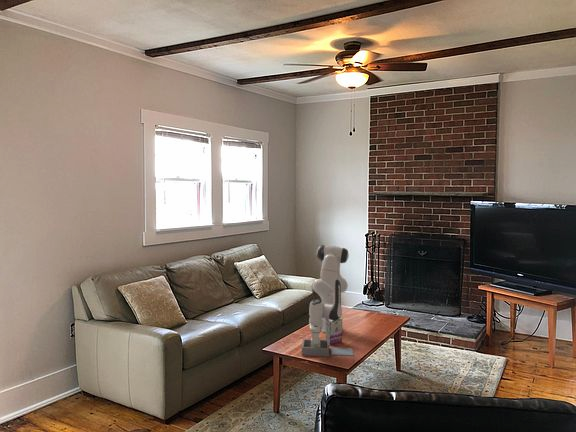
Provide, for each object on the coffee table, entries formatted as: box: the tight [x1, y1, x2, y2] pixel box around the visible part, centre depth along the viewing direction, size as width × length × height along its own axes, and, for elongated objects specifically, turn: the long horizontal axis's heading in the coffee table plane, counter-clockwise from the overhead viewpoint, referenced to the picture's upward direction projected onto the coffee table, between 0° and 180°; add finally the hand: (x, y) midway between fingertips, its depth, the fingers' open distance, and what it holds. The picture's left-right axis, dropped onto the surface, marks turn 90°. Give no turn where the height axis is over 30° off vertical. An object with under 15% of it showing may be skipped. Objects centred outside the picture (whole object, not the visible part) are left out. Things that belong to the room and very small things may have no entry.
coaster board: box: [330, 347, 354, 357], centre depth 291 cm, size 12×14×1 cm
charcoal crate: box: [301, 338, 330, 357], centre depth 292 cm, size 16×17×5 cm
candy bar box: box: [325, 317, 343, 346], centre depth 308 cm, size 11×5×16 cm, turn 126°
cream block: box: [310, 337, 321, 348], centre depth 291 cm, size 4×6×8 cm
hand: (315, 346), depth 291 cm, fingers closed on cream block, 4 cm apart
